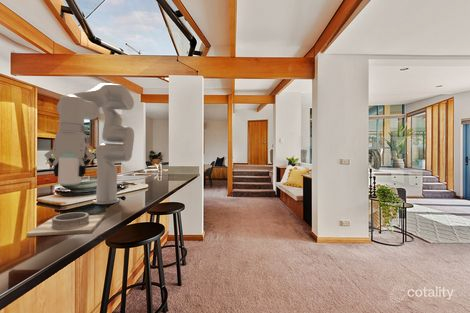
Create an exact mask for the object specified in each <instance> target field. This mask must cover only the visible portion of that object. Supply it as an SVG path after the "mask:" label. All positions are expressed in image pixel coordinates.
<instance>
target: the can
mask: <svg viewBox="0 0 470 313" xmlns="http://www.w3.org/2000/svg"><path fill="white" fill-rule="evenodd" d="M79 166H81V164H80V162H79V159H78V158H77V157H76V156H75V155H74V153H63V154H62V155H61V156H60V157H59V167H58V176H57V184H58V185H60V186H77V185H79V184H81V183H82V177H80V176H79Z"/></svg>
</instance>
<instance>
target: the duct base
mask: <svg viewBox="0 0 470 313" xmlns="http://www.w3.org/2000/svg"><path fill="white" fill-rule="evenodd" d="M105 217H106V216H105V214H98V215H97V214H96V215H90V214H89V213H88V212H82V211H80V212H79V211H78V212H76V211H75V212H67V213H66V212H65V213H60V214H57V215H55V216H52V218H50V219H48V220H46V221H45V222H43V223H41V224H40V225H38V226H37V227H35V228H33V229H32V230H30V231H28V232H27V233H26V237H36V236H37V237H39V236H53V235H55V236H56V235H71V234H89V233H92V232H93V231H94V230H95V229H96V228H97V227H98V225H100V223H101V222H102V221H103V220H104V219H105Z"/></svg>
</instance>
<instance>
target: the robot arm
mask: <svg viewBox="0 0 470 313" xmlns="http://www.w3.org/2000/svg"><path fill="white" fill-rule="evenodd" d="M134 105H135V101H134V98H133V96H132V94H131V93H130V91H129V89H127V87H125V86H124V85H123V84H118V83H117V84H116V83H108V82H107V83H105V82H104V83H99V84H98V85H95V87H93V88H91V89H89V90H86V91H85V90H84V91H81V92H74V93H70V94H65V95H64V94H63V95H62V96H61V97H60V99H59V101H58V103H57V105H56V111H57V114H58V115H59V118H58V120H59V122H58V123H59V124H58V125H59V126H58V131H56V134H55V137H54V141H53V146H52V147H53V148H52V149H50V150H48V152H46V153H44V157H45V158H46V160H48V161H49V162H50V163H51V164H52V166H53V174H54V177H58V167H59V157H60V156H61V155H62V154H63V153H74V155H75V156H76V157H77V158H78V159H79V162H80V164H81V166H79V176H80V177H81V178H82V177H84V176H85V175H86V171H87V170H86V169H87V168H86V167H87V165H89V164H90V163H91V162H92V161H93V160H94V159H95V158H96V167H97V170H96V195H95V196H96V198H95V199H96V200H94V199H93V200H92V203H93V204H95V205H111V204H116V203H118V202H120V198H119V197H117V196H118V195H117V193H118V191H117V190H118V168H117V166H116V165H115V163H114V162H119V163H120V162H121V163H123V162H126V163H127V162H129V161H131V159H132V156H133V150H134V142H135V131H134V129H133V128H132V127H131V126H127V125H122V123H123V118H122V116H121V114H119V112H117V110H121V111H131V110H132V109H134ZM100 108H101V109H102V112H103V114H104V122H103V127H102V133H101V134H102V135H101V136H102V141H104V142H106V143H100V144H98V145H97V146H96V147H95V154H94V153H92V152H91V151H89V145H88V137H87V133H85V132H87V131H88V130H89V128H88V127H86V126H85V120H95V119H97V118H98V117H99V115H100V113H101V112H100Z"/></svg>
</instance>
